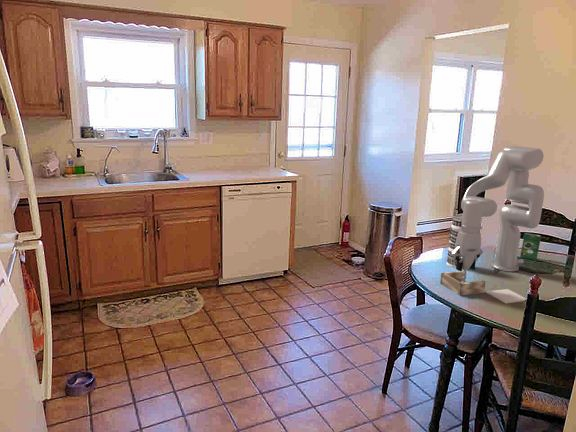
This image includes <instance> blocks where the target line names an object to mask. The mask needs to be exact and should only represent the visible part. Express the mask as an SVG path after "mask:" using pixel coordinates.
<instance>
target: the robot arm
mask: <svg viewBox="0 0 576 432" xmlns="http://www.w3.org/2000/svg"><path fill="white" fill-rule="evenodd" d="M543 161H544V152H543V150H542V149H541V148H538V147H529V146H517V145H516V146H515V145H508V146H505V147H503V148H502V150H500V151H498V153H497V154H496V156H495V158H494V160H493V161H492V164H491V166H490V167H489V169H488V171H487V173H486V175H485V176H483V177H481V178H479V179H478V180H476V181H475V182H473V183H472V184H471V185H469V187H467V189H466V191H465V193H464V195H463V197H462V199H461V204H460V208H461V209H462V211H463V212H462V215H463V217H462V224H461V231H459V233H458V235H457V239H456V243H455V249H454V251H453V252H452V253H451V255H452V256H453V257H454V258H455V259H456V261H457V263H456V268H455V270H456V271H463V268H462V267H463V263H462V260H463V258H464V256H466V254H467V252H466V251H476V252H475V257H474V261H473V263H472V265H471V266H470V268H469V269H470V270H472V271H475V270H476V262H477V261H478V259H479V258H480V257H481V255H482V254H483V253H484V251H483V249H482V248H481V247H482V235H481V230H482V228H483V226H482V219H483V218H484V217H485V218H487V217H488V218H489V217H492V216H494V215H495V214H496V213H497V209H498V203H497V202H496V201H495V200H494V199H492V198H491V199H490V198H485V197H481V196H478V195H479V194H480V193H483V192H485V191H488V190H493V189H497V188H501V187H503V186H505V185H506V184H507V185H506V191H505V198H506V200H507V201H509V202H511V203H517V204H508V203H507V204H504V205H502V206H501V208H500V210H499V229H498V230H499V231H498V236H497V242H496V243H497V244H496V251H495V258H494V261H491V262H490V266H491V267H492V268H494V269H495V270H498V271H499V270H500V271H503V272H508V273H509V272H517V271H519V270H520V266H518V265H519V264H524V263H525V262H524V261H525V260H524V259H523V258H522V259H518V255H519V254H518V253H519V249H520V241H521V230H520V229H519V227H522V228H526V229H536V228H537V227H538V226H539V225H540V221H541V217H542V211H543V206H544V205H543V204H544V198H545V190H544V188H543V186H541V185H538V184H531V183H529V177H530V172H529V171H531V170H533V169H536V168H539V167H540V166H541V164H542V163H543ZM518 204H521V205H518ZM523 205H528V206H523ZM457 253H458V255H457ZM460 256H461V257H460Z"/></svg>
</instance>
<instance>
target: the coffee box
mask: <svg viewBox="0 0 576 432" xmlns="http://www.w3.org/2000/svg"><path fill="white" fill-rule="evenodd" d="M541 239H542V235H541V234H540V235H539V234H534V233H528V232H524V235H523V239H522V245H521V250H520V255H519V257H520V258H522V259H523V258H524V259H529V260H535V261H537V259H538V253H539V250H540V249H539V248H540V244H541Z"/></svg>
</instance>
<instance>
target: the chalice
mask: <svg viewBox="0 0 576 432" xmlns="http://www.w3.org/2000/svg"><path fill="white" fill-rule="evenodd" d="M466 252H467V254H466V256H464V258H463V260H462V263H463V267H462V270H463V271H464V272H463V277H462V278H463V281H462V282H461V283H466V279H467V270H469V269H470V266H471V265H472V263H473V261H474V257H475V252H476V251H466ZM460 257H461V256H460ZM465 275H466V276H465Z"/></svg>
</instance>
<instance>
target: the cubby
mask: <svg viewBox="0 0 576 432" xmlns="http://www.w3.org/2000/svg"><path fill="white" fill-rule="evenodd" d="M463 272H464V270H462V271H458V270H455V271H446V272H441V274H440V280H439V281H440V285H442V286H444V287H446V288H447V289H449V290H450V291H452V292H453V293H455V294H457V295H458V296H467V295H469V296H470V295H476V294H477V295H478V294H483V293H485V287H486V282H487V281H485V280H477V281H468V282H466V281H465V282H466V283H461V282H462V281H463V278H462V277H463ZM465 276H466V277H467V274H466V275H465Z"/></svg>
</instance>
